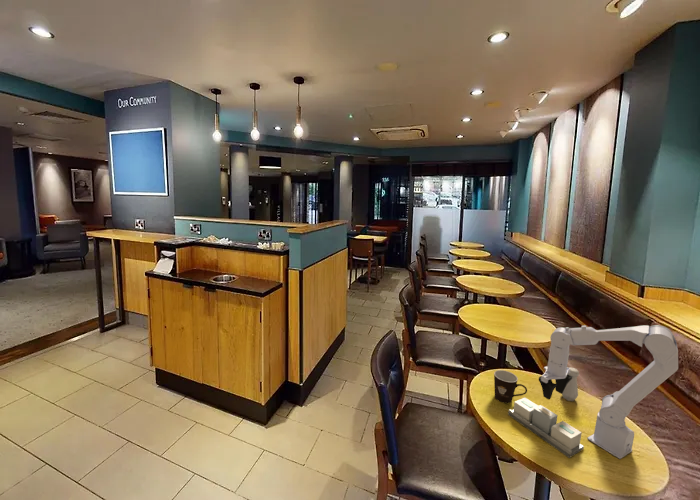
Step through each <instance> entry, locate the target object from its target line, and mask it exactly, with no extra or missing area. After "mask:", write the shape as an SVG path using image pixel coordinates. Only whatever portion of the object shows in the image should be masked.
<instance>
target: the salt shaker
mask: <svg viewBox="0 0 700 500" xmlns="http://www.w3.org/2000/svg"><path fill="white" fill-rule="evenodd" d="M568 368H570V374H568V375H570V376H572V379H571V380H570V381H569V383H568V384H567V385H566V387H565V389H564V392H563V393H562V394H561V395H562V398H563V399H564V400H566V401H570V402H574V401H575V400H577V398H578V397H579V390H578V378H579V375H580V372H579V370H578V369H577V368H576V367H575V368H574V367H568ZM577 377H578V378H577Z"/></svg>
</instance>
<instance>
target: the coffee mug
mask: <svg viewBox="0 0 700 500" xmlns="http://www.w3.org/2000/svg"><path fill="white" fill-rule="evenodd" d="M493 376H494V378H493V381H494V386H493V388H494V398H495V399H496V400H497V401H499V402H500V403H503V404H511V403H512V402H513V398H515V397H519V396H520V397H521V396H524V395H526V394H527V393H528V388H527V387H526V386H525V385H524V384H522V383H518V380H519V378H518V376H517V375H516V374H514V373H513V372H512V371H511V372H510V371H508V370H504V369H499V370H498V369H497V370H495V371H494V373H493ZM519 386H520V387H523V389H524V390H525V392H523V393H518V394H517V393H516V394H515V390H516V388H517V387H519Z"/></svg>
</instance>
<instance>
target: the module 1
mask: <svg viewBox="0 0 700 500" xmlns="http://www.w3.org/2000/svg"><path fill="white" fill-rule="evenodd" d="M537 406H539V405H538V404H536V403H535V402H533V401H531V400H530V399H528V398H527V397H522V398H520V399H518V400H515V401H514V403H513V409H512V410H513V411H514V412H515V413H517V414H518V415H520V416H521V417H523V418H524V419H526V420H527V421H529V422H531V421H532V416H533V409H534V408H535V407H537Z"/></svg>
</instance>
